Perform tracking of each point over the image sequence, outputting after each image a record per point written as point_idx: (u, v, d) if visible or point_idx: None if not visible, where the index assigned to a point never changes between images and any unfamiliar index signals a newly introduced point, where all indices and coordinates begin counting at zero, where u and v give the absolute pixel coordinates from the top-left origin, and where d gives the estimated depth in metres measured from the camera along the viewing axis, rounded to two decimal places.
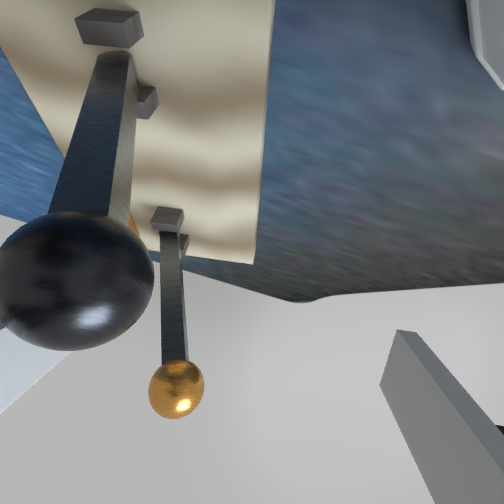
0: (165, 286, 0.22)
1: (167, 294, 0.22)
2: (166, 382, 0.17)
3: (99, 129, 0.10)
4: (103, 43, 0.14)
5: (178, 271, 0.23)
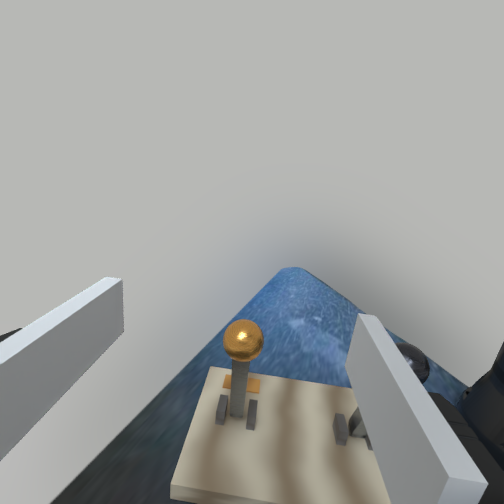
0: (247, 380, 0.29)
1: None
2: None
3: None
4: None
5: (245, 396, 0.29)
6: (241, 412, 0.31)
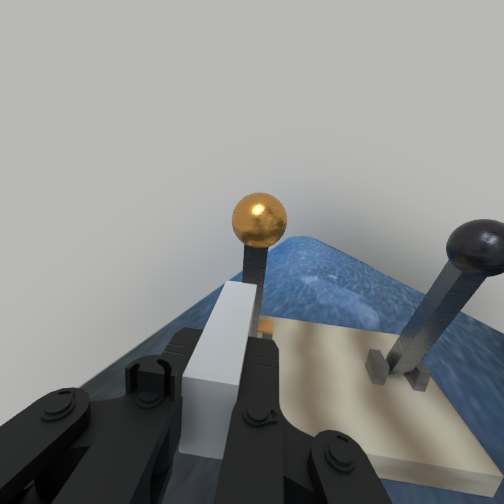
0: None
1: None
2: None
3: None
4: None
5: None
6: None
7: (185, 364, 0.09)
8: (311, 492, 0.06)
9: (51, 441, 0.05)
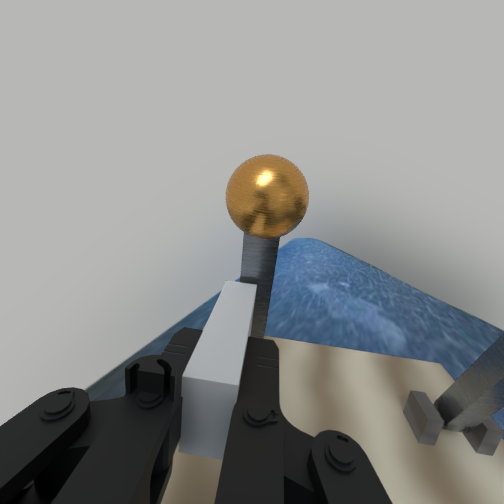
0: None
1: None
2: None
3: None
4: None
5: None
6: None
7: (185, 364, 0.09)
8: (311, 492, 0.06)
9: (51, 441, 0.05)
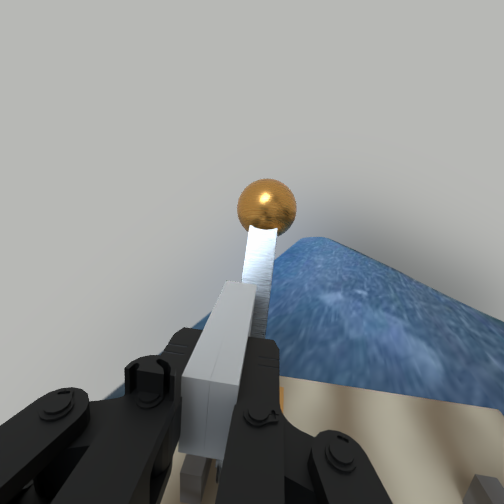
0: None
1: (266, 324, 0.15)
2: None
3: None
4: None
5: None
6: None
7: (185, 364, 0.09)
8: (311, 492, 0.06)
9: (50, 441, 0.05)
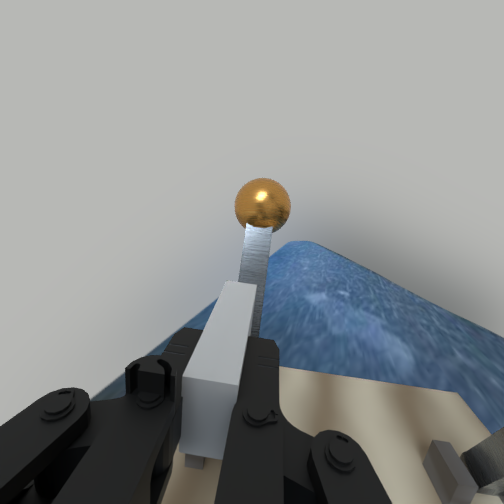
0: None
1: None
2: None
3: None
4: None
5: None
6: None
7: (185, 364, 0.09)
8: (311, 492, 0.06)
9: (51, 441, 0.05)
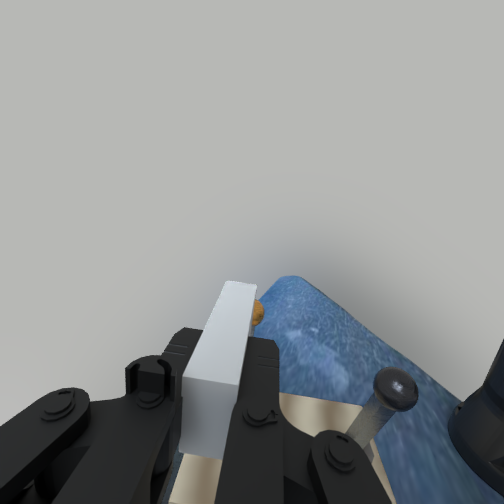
0: None
1: None
2: None
3: None
4: None
5: None
6: None
7: (185, 364, 0.09)
8: (311, 492, 0.06)
9: (51, 441, 0.05)
